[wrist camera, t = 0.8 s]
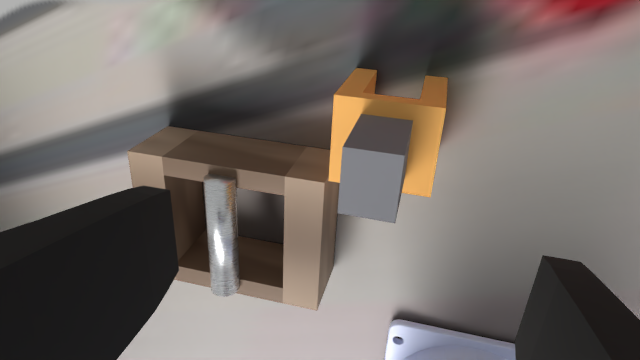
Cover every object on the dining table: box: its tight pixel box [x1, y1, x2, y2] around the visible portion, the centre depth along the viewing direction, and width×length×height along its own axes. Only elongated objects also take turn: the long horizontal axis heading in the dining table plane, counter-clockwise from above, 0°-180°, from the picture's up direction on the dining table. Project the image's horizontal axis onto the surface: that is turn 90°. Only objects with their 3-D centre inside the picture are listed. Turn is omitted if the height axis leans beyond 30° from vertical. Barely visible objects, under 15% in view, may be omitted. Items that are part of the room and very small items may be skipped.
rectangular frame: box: [127, 126, 340, 311], centre depth 20 cm, size 6×8×4 cm
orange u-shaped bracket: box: [328, 68, 448, 223], centre depth 15 cm, size 3×3×7 cm
